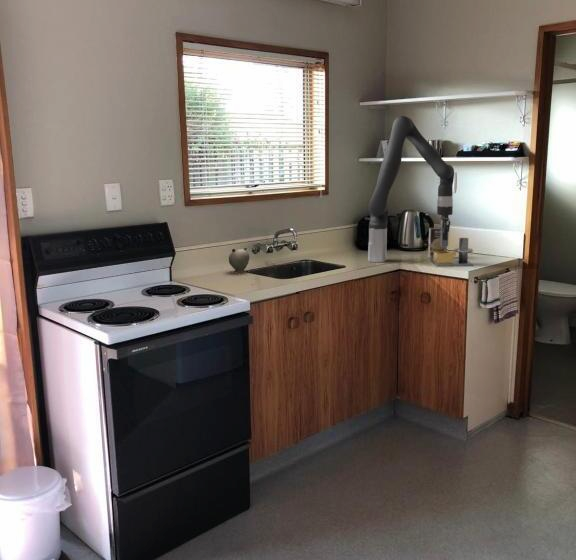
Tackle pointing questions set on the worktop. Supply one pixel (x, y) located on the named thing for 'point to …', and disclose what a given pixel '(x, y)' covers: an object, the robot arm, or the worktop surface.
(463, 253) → the rosette stand
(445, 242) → the grey square beam
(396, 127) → the robot arm
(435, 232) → the coffee box
